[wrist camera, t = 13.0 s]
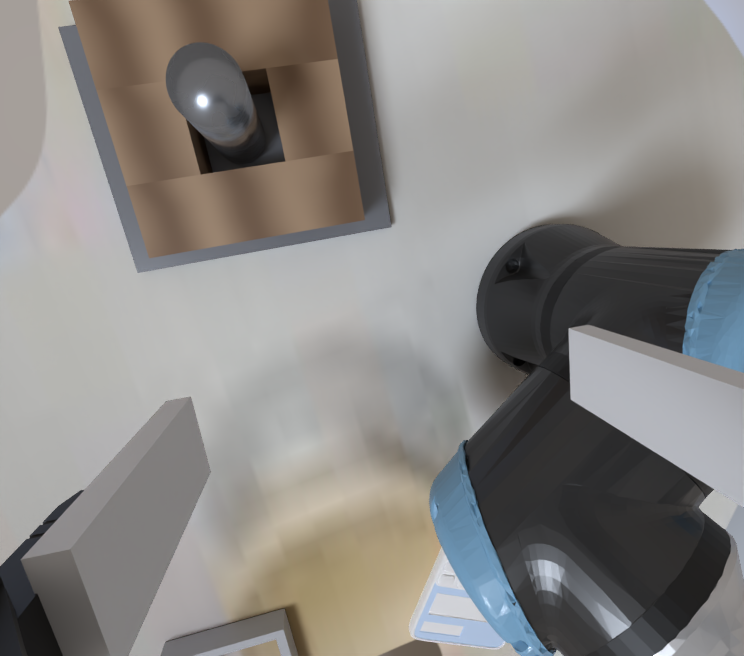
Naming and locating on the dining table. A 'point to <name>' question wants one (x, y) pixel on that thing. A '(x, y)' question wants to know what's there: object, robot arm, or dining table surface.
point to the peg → (216, 100)
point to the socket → (198, 156)
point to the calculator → (450, 612)
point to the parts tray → (236, 637)
